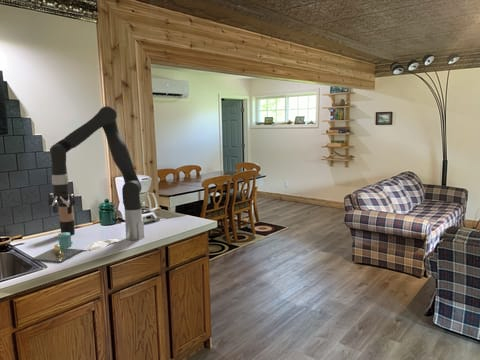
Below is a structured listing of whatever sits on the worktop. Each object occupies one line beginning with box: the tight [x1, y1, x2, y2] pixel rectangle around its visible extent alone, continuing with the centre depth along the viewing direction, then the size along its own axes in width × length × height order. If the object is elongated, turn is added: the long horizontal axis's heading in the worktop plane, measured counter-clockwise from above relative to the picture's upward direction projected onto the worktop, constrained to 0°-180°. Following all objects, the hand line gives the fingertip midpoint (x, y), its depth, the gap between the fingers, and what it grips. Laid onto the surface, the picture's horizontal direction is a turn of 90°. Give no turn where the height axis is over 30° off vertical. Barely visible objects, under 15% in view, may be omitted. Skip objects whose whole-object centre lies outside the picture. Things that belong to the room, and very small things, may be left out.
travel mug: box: [58, 202, 76, 236], centre depth 212 cm, size 8×8×20 cm
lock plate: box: [31, 243, 84, 264], centre depth 178 cm, size 16×16×6 cm
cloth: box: [81, 238, 122, 252], centre depth 195 cm, size 26×14×2 cm, turn 134°
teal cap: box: [57, 232, 74, 249], centre depth 191 cm, size 10×6×7 cm, turn 168°
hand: (62, 213), depth 189 cm, fingers open, 8 cm apart
